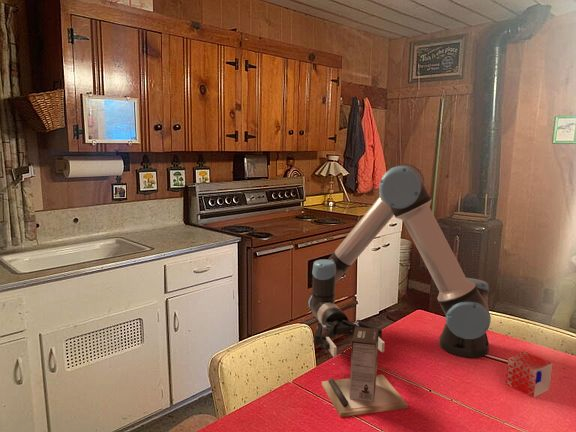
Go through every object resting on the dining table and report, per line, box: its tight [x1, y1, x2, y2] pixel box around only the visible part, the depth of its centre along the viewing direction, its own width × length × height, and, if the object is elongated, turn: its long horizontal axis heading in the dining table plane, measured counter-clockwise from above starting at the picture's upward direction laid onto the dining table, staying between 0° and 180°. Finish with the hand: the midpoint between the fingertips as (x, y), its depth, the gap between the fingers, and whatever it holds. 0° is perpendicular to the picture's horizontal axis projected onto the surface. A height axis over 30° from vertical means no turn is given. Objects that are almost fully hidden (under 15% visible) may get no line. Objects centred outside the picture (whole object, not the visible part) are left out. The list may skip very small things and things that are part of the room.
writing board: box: [321, 374, 409, 418], centre depth 120 cm, size 18×15×3 cm
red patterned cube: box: [505, 351, 553, 398], centre depth 125 cm, size 8×8×8 cm
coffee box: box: [349, 327, 380, 402], centre depth 119 cm, size 9×6×16 cm
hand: (359, 349), depth 121 cm, fingers open, 13 cm apart
